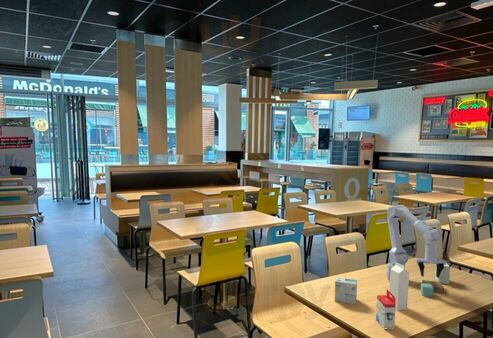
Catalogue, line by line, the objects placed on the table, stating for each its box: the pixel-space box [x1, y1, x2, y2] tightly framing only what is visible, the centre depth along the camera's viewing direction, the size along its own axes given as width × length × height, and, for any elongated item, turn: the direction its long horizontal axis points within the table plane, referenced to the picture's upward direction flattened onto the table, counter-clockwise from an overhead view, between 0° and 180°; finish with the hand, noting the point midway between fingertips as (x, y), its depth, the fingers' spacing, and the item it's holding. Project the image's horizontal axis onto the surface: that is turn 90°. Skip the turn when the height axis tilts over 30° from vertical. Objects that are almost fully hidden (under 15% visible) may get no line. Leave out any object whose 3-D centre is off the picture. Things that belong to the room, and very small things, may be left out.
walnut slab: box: [421, 279, 445, 294], centre depth 188 cm, size 9×9×3 cm
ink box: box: [375, 289, 396, 330], centre depth 150 cm, size 8×5×15 cm, turn 3°
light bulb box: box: [334, 276, 358, 305], centre depth 173 cm, size 11×7×11 cm, turn 71°
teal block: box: [420, 282, 434, 298], centre depth 181 cm, size 5×5×5 cm
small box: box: [434, 262, 451, 285], centre depth 198 cm, size 8×6×10 cm
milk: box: [389, 262, 410, 311], centre depth 166 cm, size 6×6×22 cm
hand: (429, 276), depth 181 cm, fingers open, 7 cm apart
